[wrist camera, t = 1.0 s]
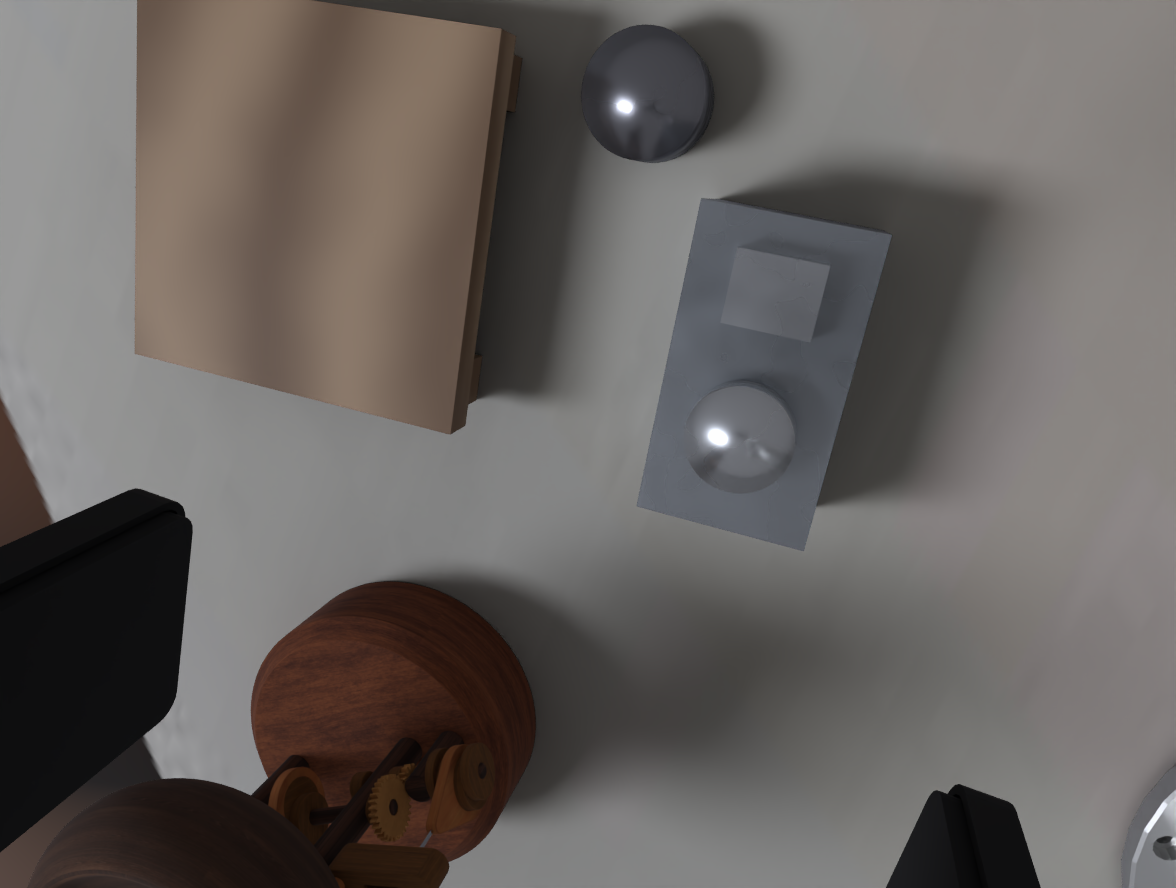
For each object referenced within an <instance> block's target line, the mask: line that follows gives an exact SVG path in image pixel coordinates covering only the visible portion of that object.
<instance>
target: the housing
mask: <svg viewBox="0 0 1176 888" xmlns="http://www.w3.org/2000/svg"><path fill="white" fill-rule="evenodd" d="M891 237H892V235H891V234H889V233H888V232H886V231H884V230H879V229H874V228H868V227H863V226H858V225H853V224H848V223H842V222H837V221H832V220H827V219H821V218H816V217H811V216H806V215H800V214H795V213H790V212H785V211H780V210H774V209H769V208H764V207H759V206H753V205H748V204H743V203H738V202H732V201H727V200H722V199H704V198H701V202H700V207H699V211H698V216H697V221H696V226H695V230H694V235H693V240H692V245H691V249H690V254H689V259H688V264H687V268H686V273H685V278H684V283H683V287H682V292H681V297H680V302H679V306H678V311H677V316H676V321H675V326H674V330H673V335H672V340H671V345H670V349H669V354H668V359H667V364H666V368H665V373H664V378H663V383H662V387H661V392H660V397H659V402H658V406H657V411H656V416H655V421H654V425H653V430H652V435H651V440H650V445H649V449H648V454H647V459H646V464H645V468H644V473H643V478H642V483H641V487H640V492H639V497H638V502H637V507H641V508H645V509H649V510H652V511H656V512H660V513H663V514H667V515H671V516H675V517H678V518H682V519H686V520H689V521H693V522H697V523H701V524H704V525H708V526H712V527H715V528H719V529H723V530H727V531H730V532H734V533H738V534H741V535H745V536H749V537H753V538H756V539H760V540H764V541H767V542H771V543H775V544H779V545H782V546H786V547H790V548H793V549H797V550H801V551H804V548H805V545H806V541H807V537H808V534H809V530H810V527H811V523H812V520H813V516H814V512H815V509H816V505H817V502H818V498H819V494H820V491H821V487H822V484H823V480H824V477H825V473H826V469H827V466H828V462H829V459H830V455H831V452H832V448H833V444H834V441H835V437H836V434H837V430H838V427H839V423H840V419H841V416H842V412H843V409H844V405H845V402H846V398H847V394H848V391H849V387H850V384H851V380H852V376H853V373H854V369H855V366H856V362H857V359H858V355H859V351H860V348H861V344H862V341H863V337H864V334H865V330H866V326H867V323H868V319H869V316H870V312H871V309H872V305H873V301H874V298H875V294H876V291H877V287H878V284H879V280H880V276H881V273H882V269H883V266H884V262H885V258H886V255H887V251H888V248H889V244H890V241H891Z"/></svg>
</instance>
